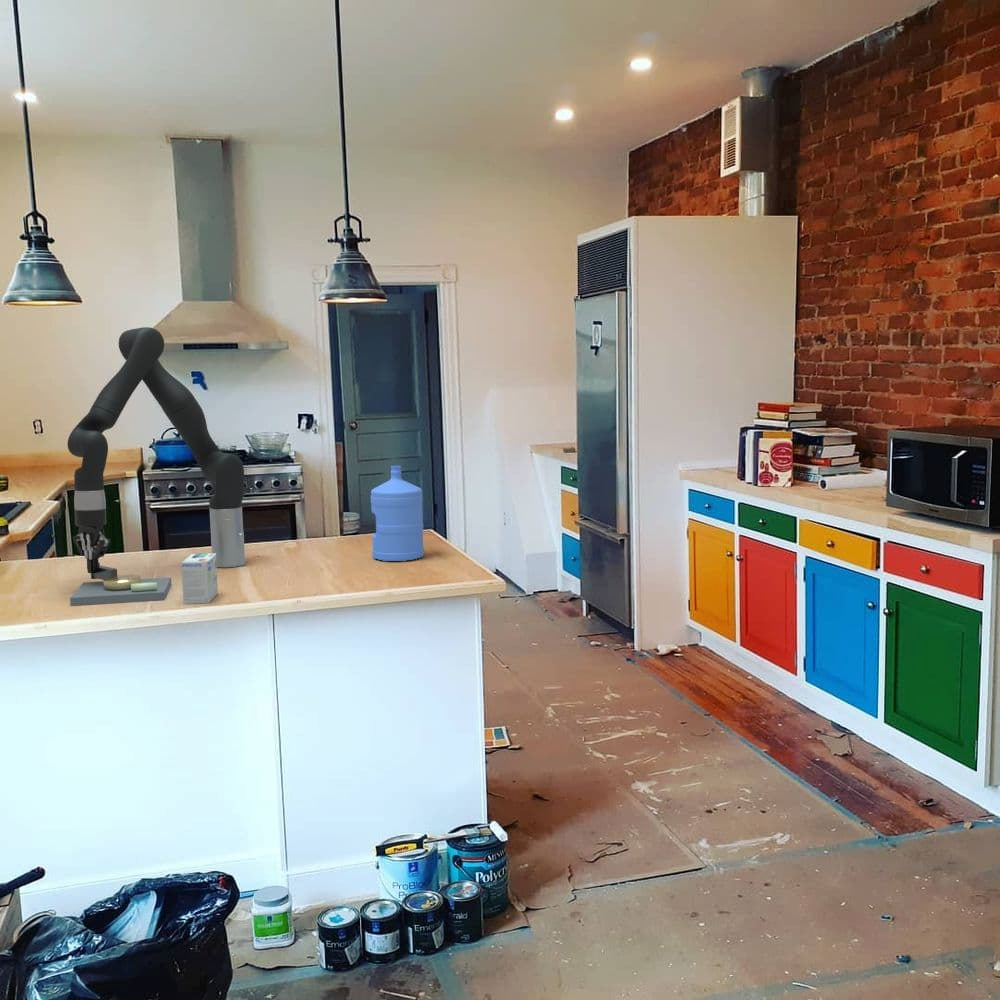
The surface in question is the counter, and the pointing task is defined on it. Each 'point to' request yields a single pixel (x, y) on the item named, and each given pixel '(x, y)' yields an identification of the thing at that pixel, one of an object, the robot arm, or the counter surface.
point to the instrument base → (121, 592)
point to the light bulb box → (199, 578)
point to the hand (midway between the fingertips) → (93, 572)
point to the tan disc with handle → (115, 578)
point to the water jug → (397, 519)
